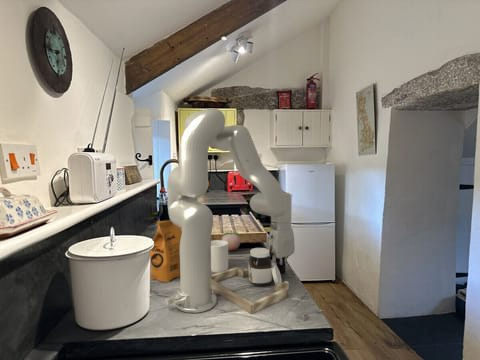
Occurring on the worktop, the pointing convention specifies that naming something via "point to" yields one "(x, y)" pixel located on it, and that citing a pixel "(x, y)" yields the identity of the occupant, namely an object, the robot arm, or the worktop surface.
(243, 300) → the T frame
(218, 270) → the mug
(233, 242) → the decorative fruit
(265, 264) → the spread jar
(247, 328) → the worktop surface
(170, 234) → the coffee package
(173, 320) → the worktop surface
